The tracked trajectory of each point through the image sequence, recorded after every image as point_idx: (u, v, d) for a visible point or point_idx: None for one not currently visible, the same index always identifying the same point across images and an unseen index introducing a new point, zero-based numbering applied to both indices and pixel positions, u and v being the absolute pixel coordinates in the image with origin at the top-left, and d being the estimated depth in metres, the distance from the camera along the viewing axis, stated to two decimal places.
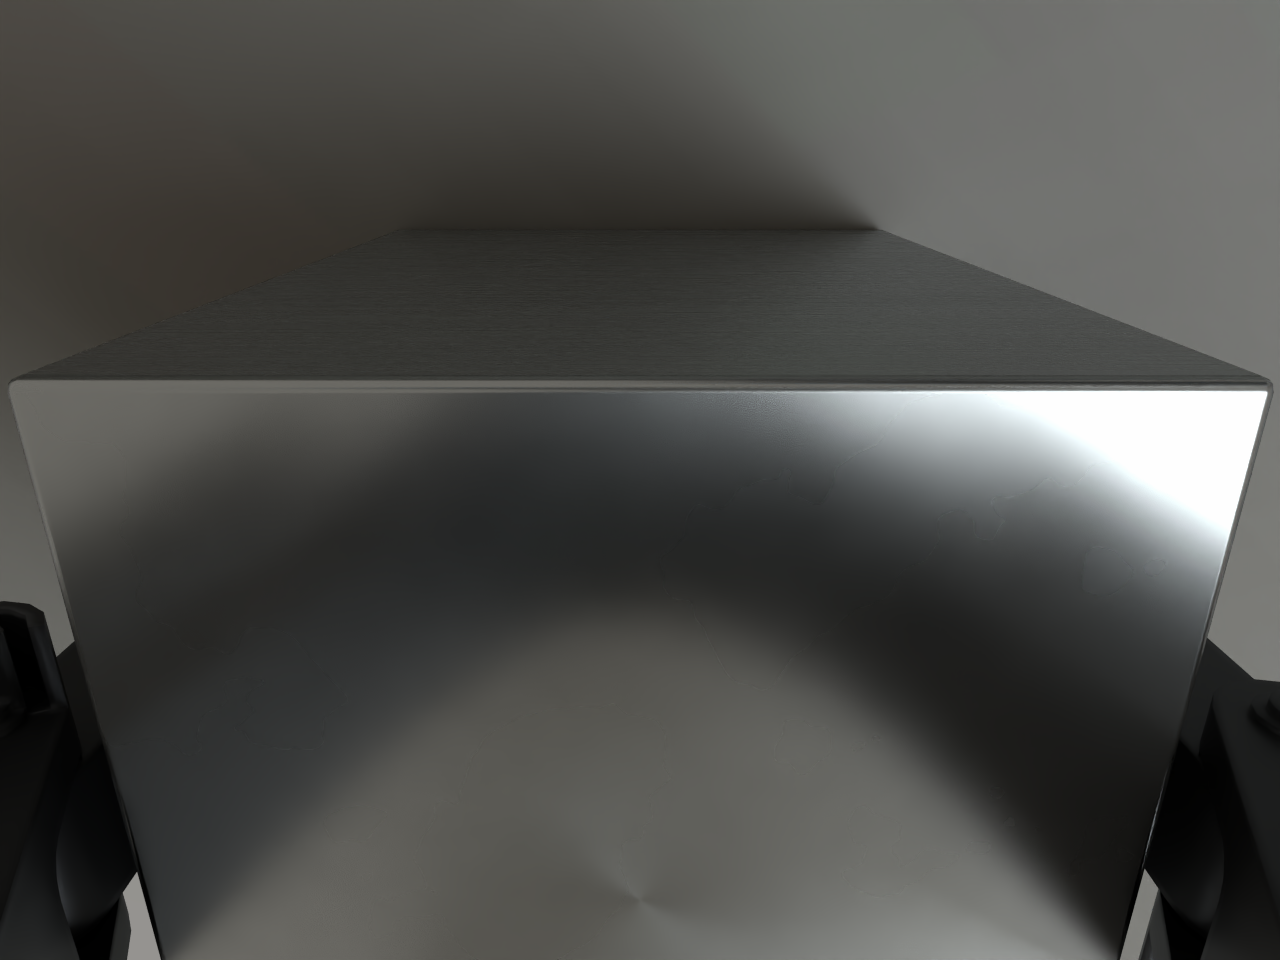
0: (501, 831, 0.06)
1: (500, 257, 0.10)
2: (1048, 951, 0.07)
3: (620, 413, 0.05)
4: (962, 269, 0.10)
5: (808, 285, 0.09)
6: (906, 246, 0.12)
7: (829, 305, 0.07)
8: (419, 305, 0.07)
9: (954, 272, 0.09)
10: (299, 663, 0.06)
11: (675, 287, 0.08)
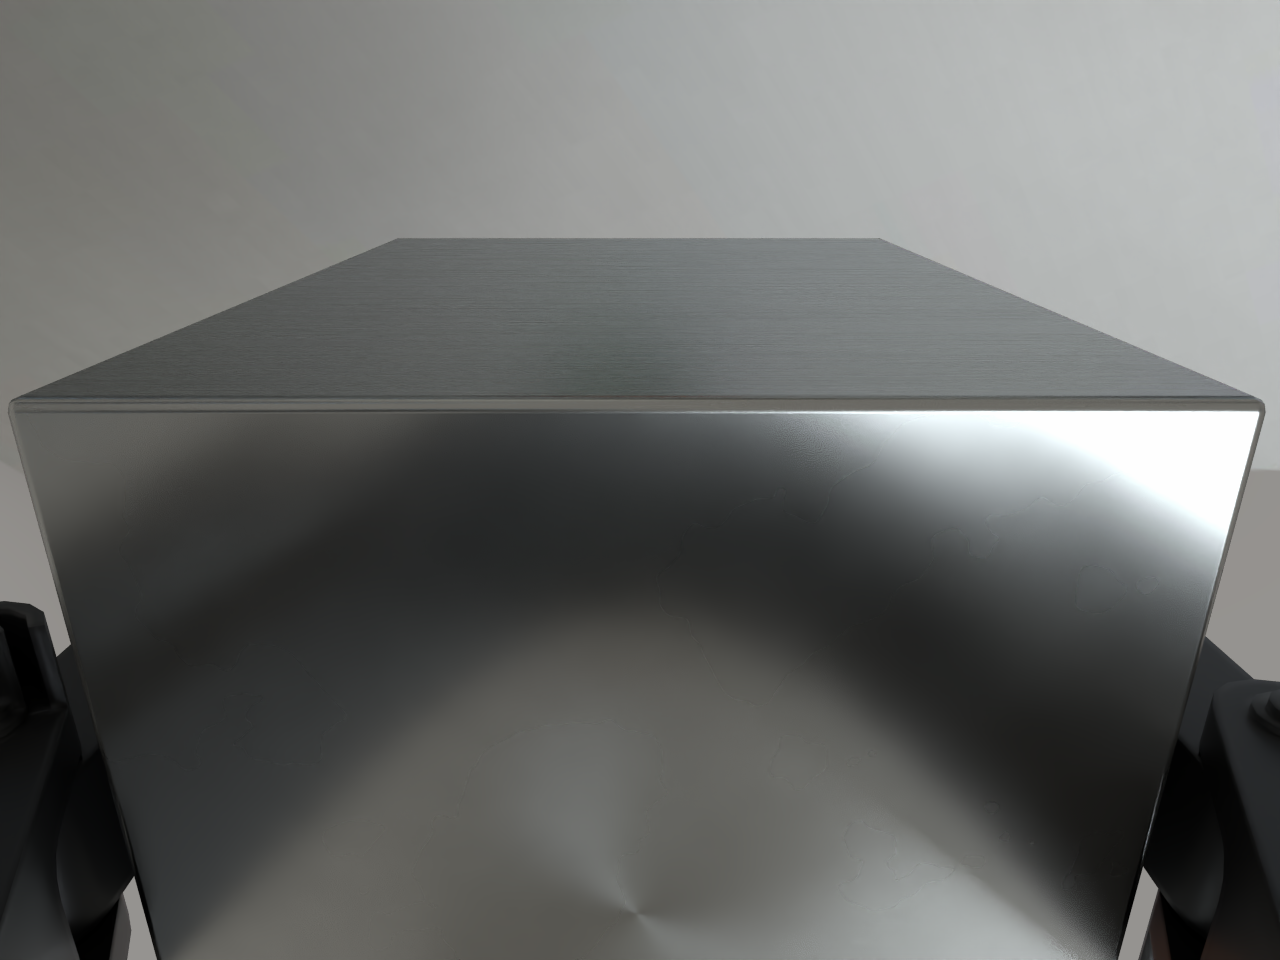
0: (499, 846, 0.07)
1: (499, 268, 0.11)
2: None
3: (618, 432, 0.05)
4: (959, 281, 0.10)
5: (805, 298, 0.09)
6: (903, 256, 0.12)
7: (825, 320, 0.08)
8: (417, 320, 0.08)
9: (951, 284, 0.09)
10: (297, 680, 0.06)
11: (672, 300, 0.08)
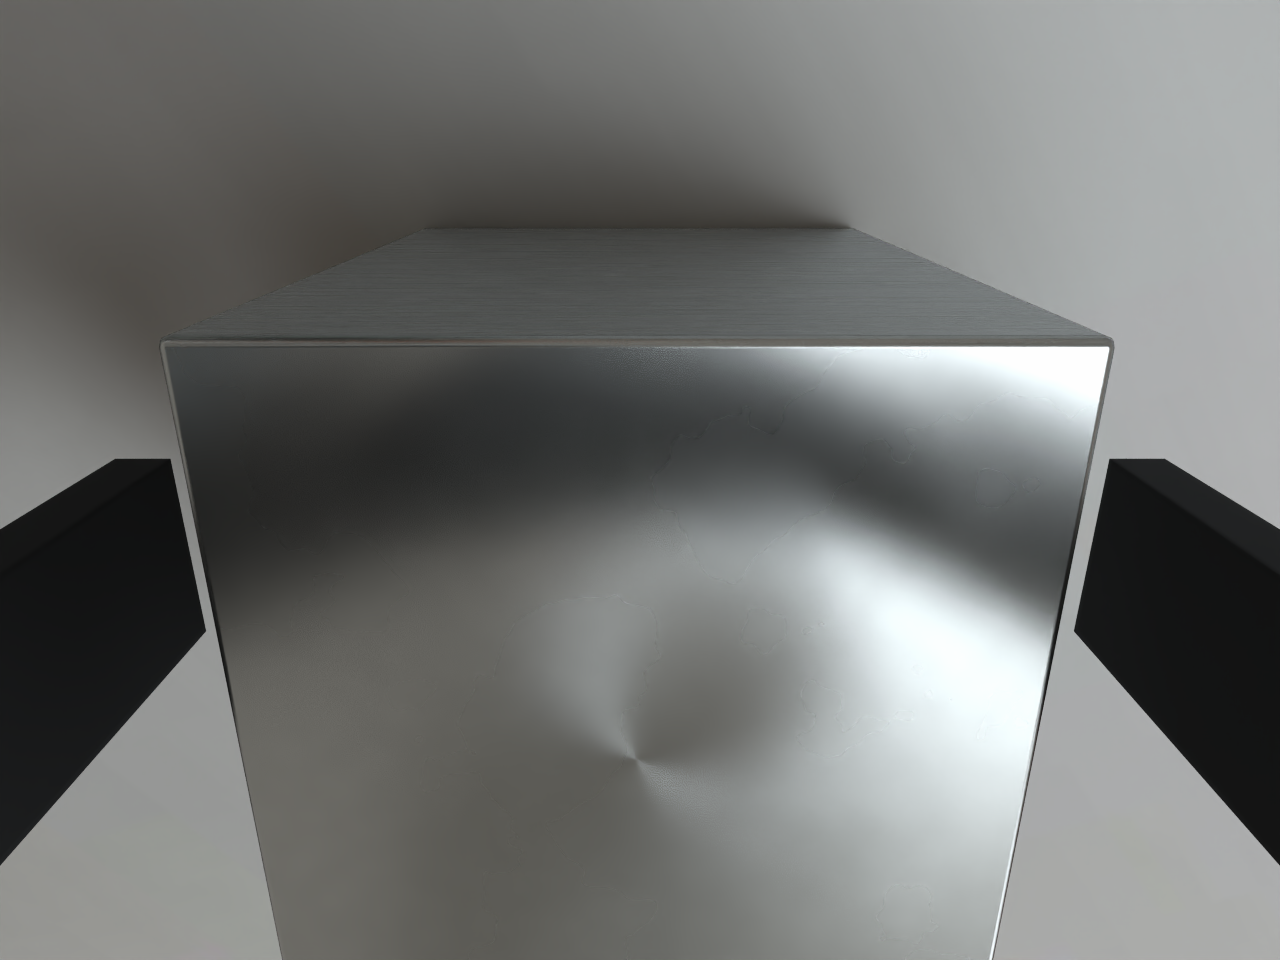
0: (528, 702, 0.08)
1: (518, 251, 0.12)
2: (964, 804, 0.09)
3: (621, 362, 0.07)
4: (911, 260, 0.11)
5: (778, 273, 0.10)
6: (871, 242, 0.13)
7: (791, 287, 0.09)
8: (458, 287, 0.09)
9: (903, 263, 0.11)
10: (371, 561, 0.08)
11: (667, 274, 0.10)
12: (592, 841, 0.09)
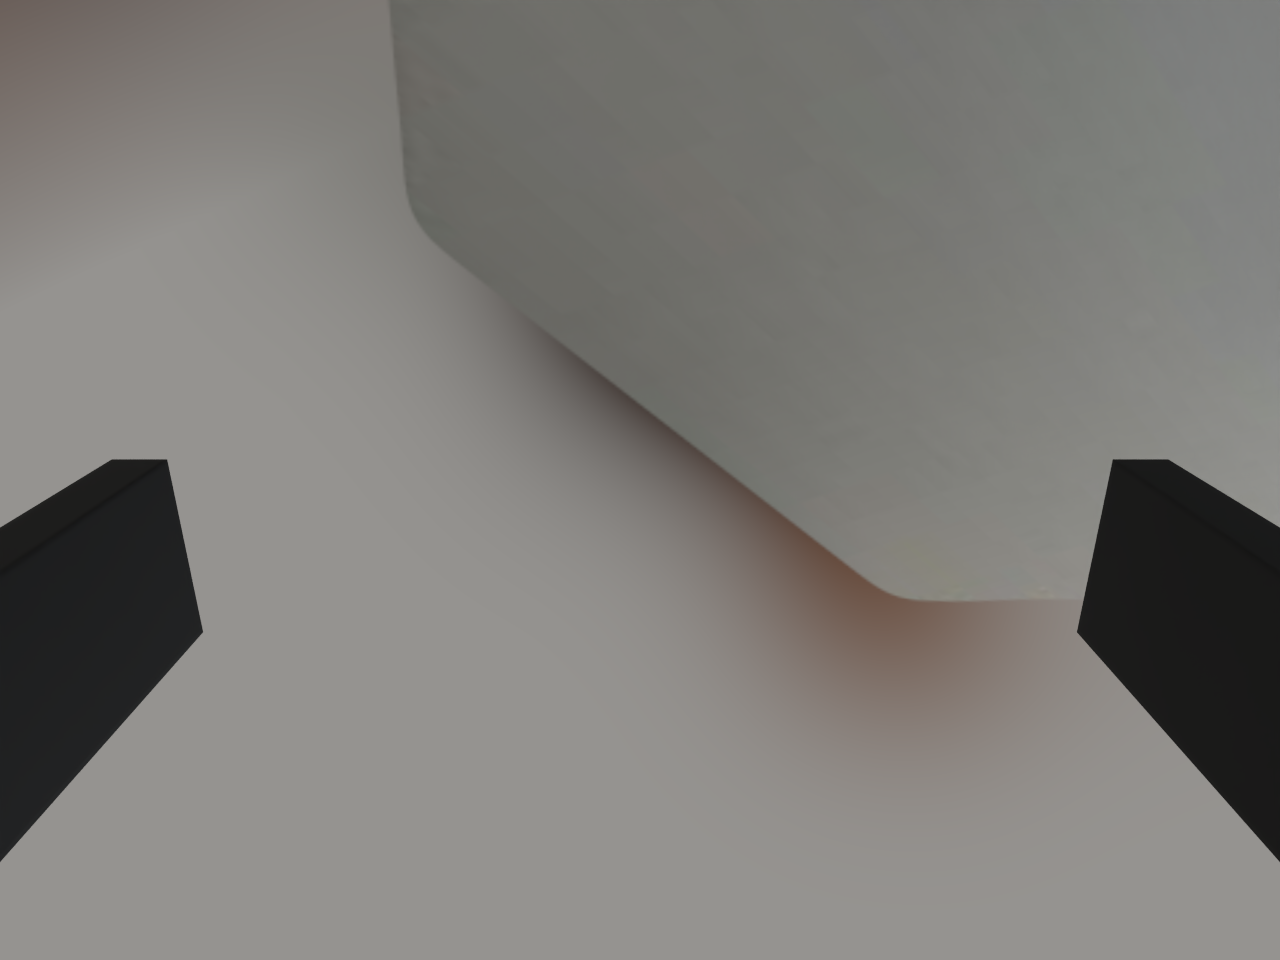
0: None
1: None
2: None
3: None
4: None
5: None
6: None
7: None
8: None
9: None
10: None
11: None
12: None
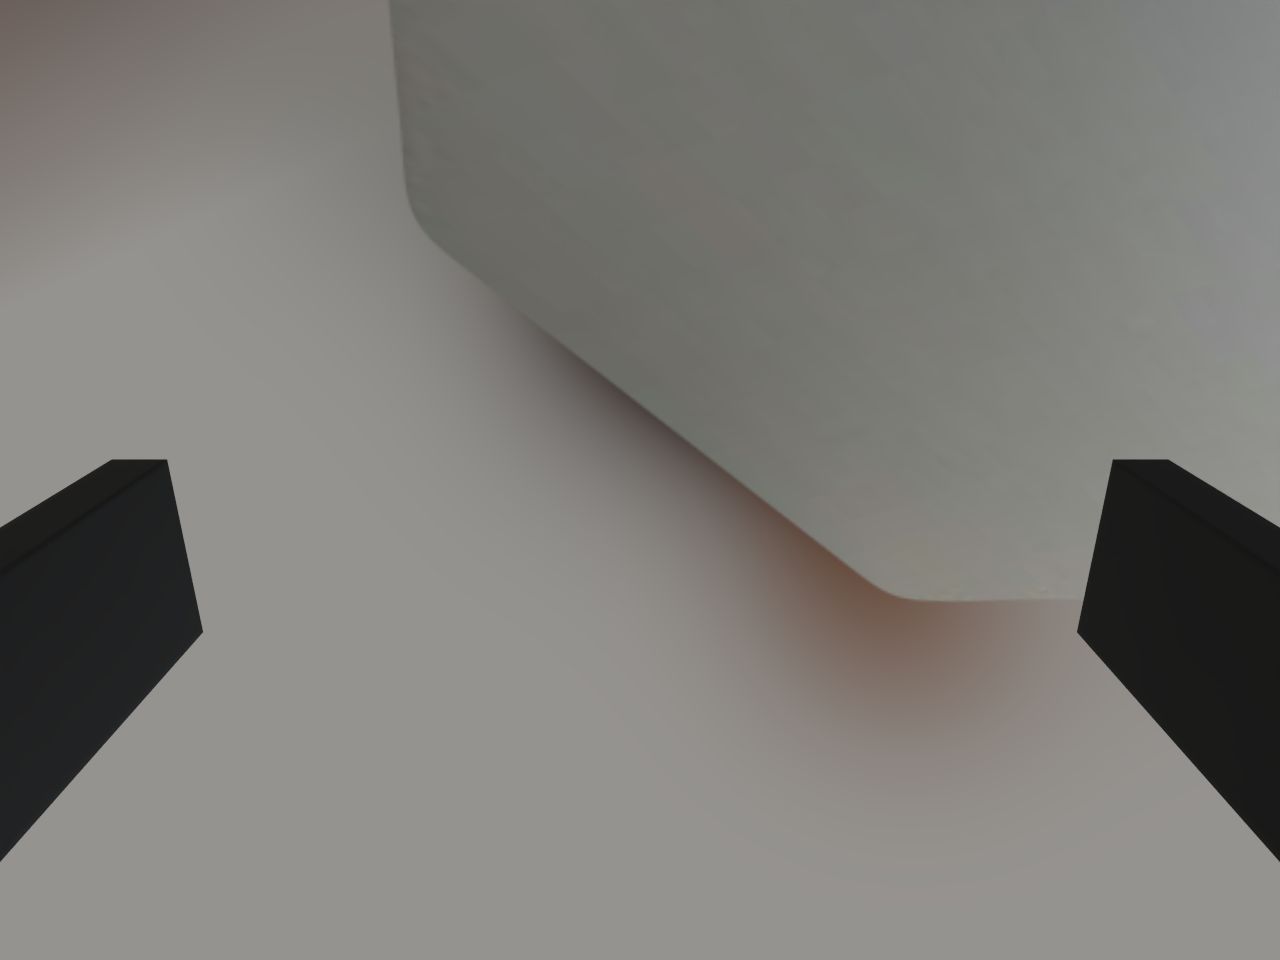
0: None
1: None
2: None
3: None
4: None
5: None
6: None
7: None
8: None
9: None
10: None
11: None
12: None
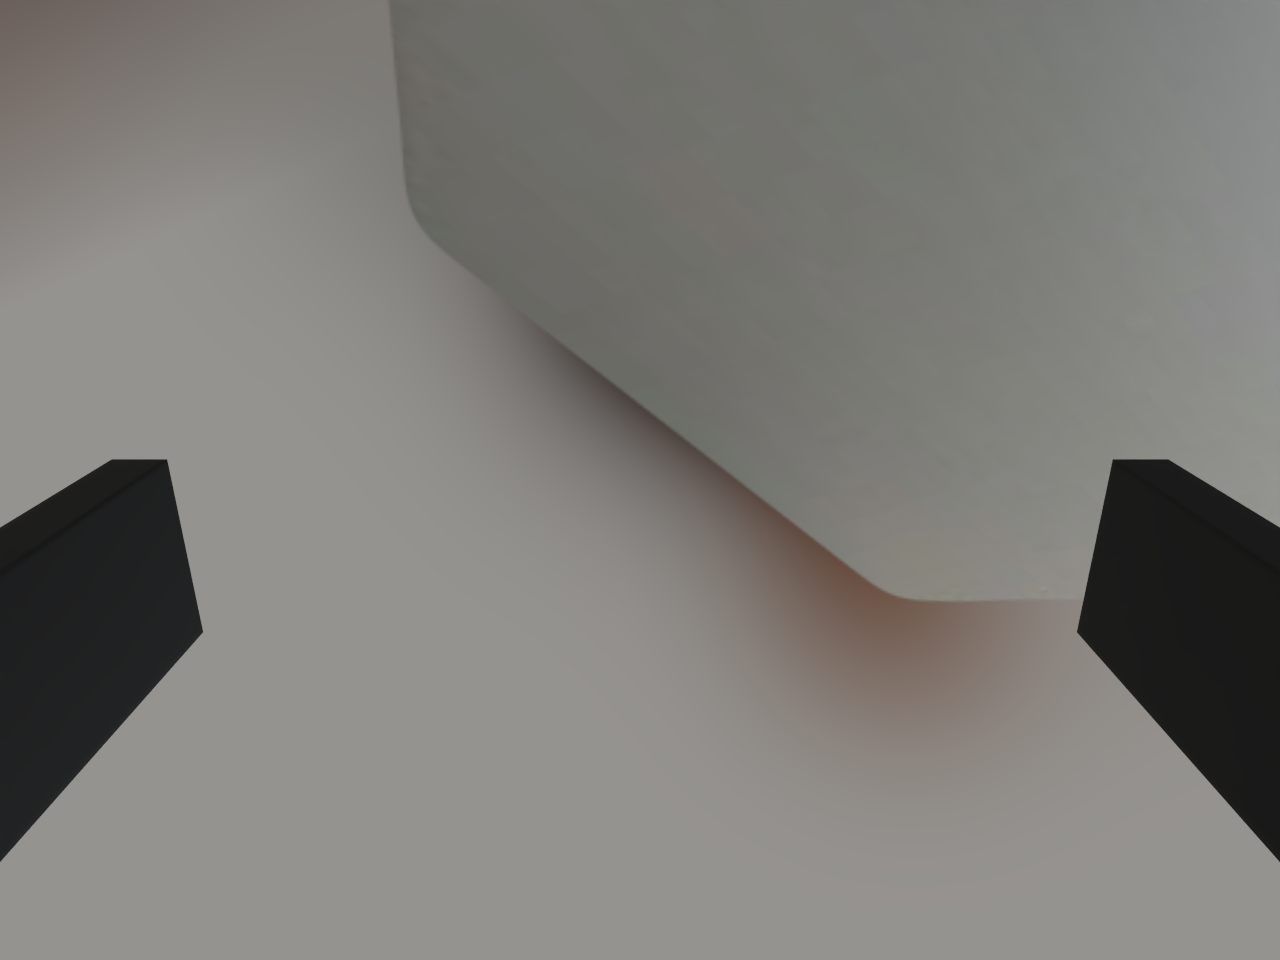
0: None
1: None
2: None
3: None
4: None
5: None
6: None
7: None
8: None
9: None
10: None
11: None
12: None
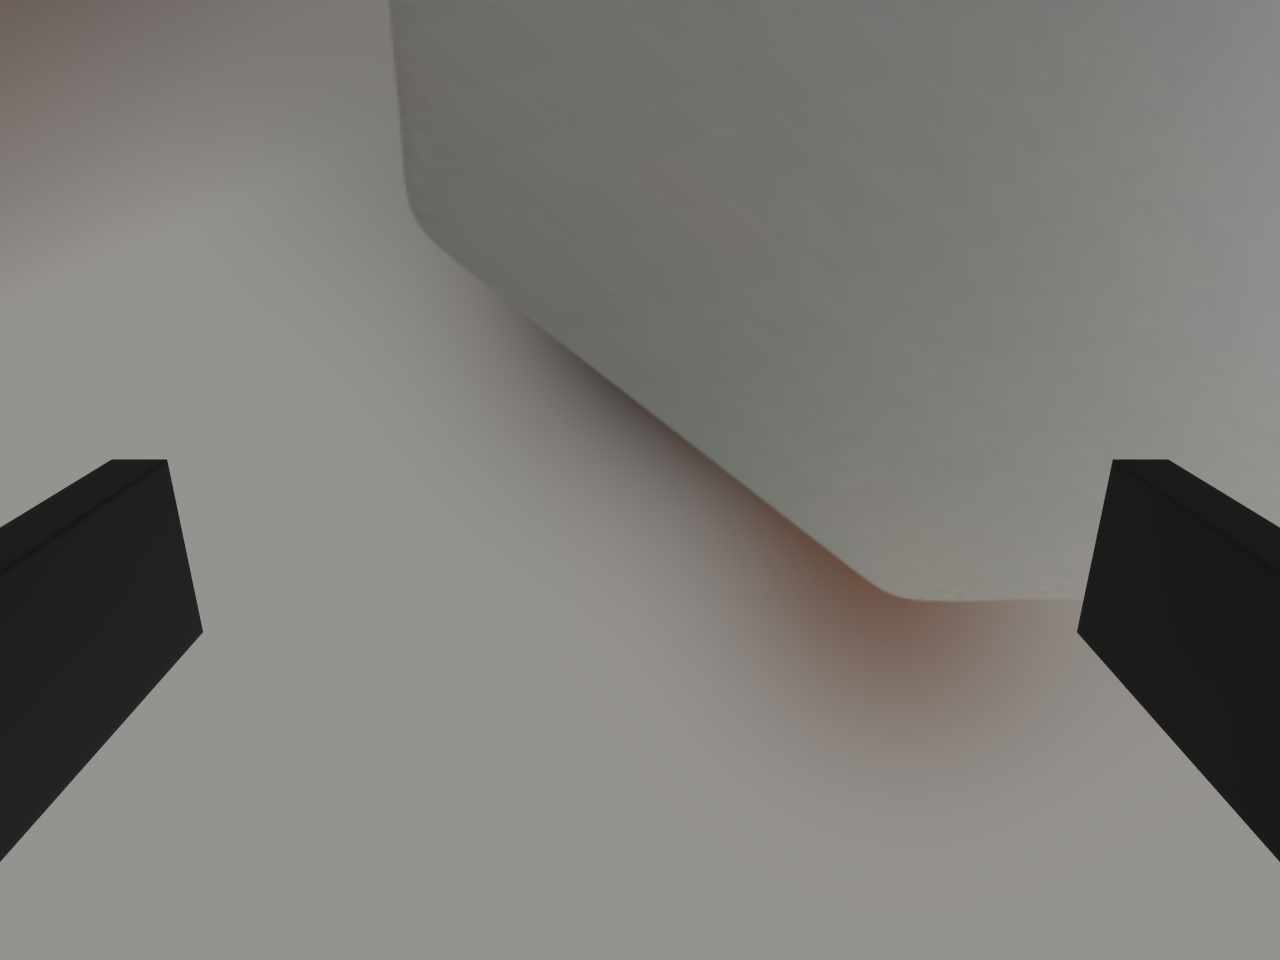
0: None
1: None
2: None
3: None
4: None
5: None
6: None
7: None
8: None
9: None
10: None
11: None
12: None
